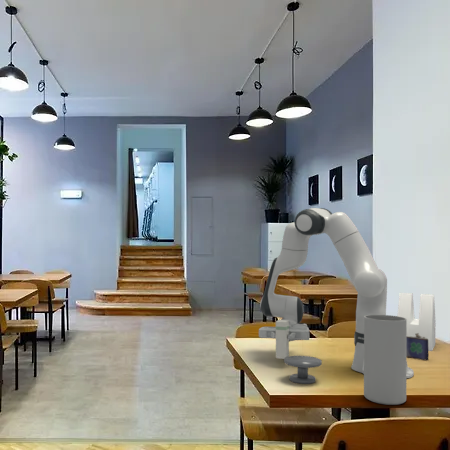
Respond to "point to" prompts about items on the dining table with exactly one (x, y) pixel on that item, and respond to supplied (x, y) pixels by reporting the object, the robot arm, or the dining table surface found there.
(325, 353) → the dining table surface
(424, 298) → the white u-shaped block
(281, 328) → the column
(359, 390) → the dining table surface
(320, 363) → the pedestal
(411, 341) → the flask
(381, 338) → the cylinder vase
